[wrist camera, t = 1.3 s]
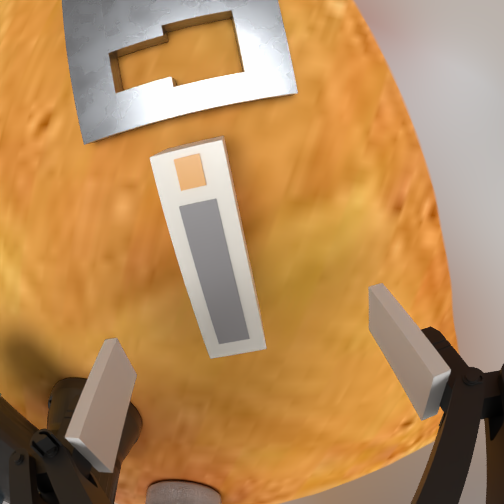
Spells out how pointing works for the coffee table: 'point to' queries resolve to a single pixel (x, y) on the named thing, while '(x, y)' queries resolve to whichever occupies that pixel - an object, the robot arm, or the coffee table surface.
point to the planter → (181, 493)
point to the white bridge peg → (210, 244)
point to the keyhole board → (166, 90)
